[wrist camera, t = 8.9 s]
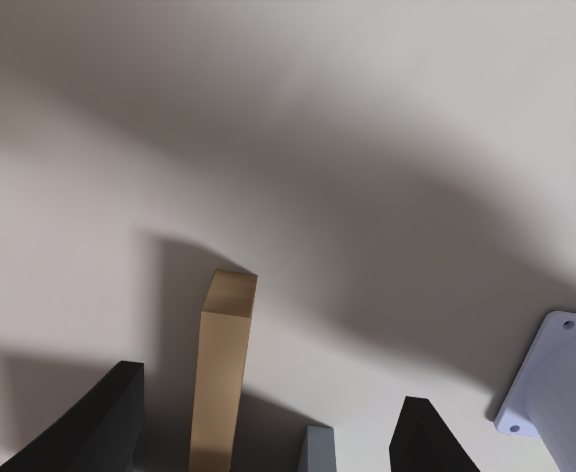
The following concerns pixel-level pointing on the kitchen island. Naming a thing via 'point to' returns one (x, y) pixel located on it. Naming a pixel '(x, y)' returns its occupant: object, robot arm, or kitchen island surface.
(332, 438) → the low shelf
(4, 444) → the kitchen island surface
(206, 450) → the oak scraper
